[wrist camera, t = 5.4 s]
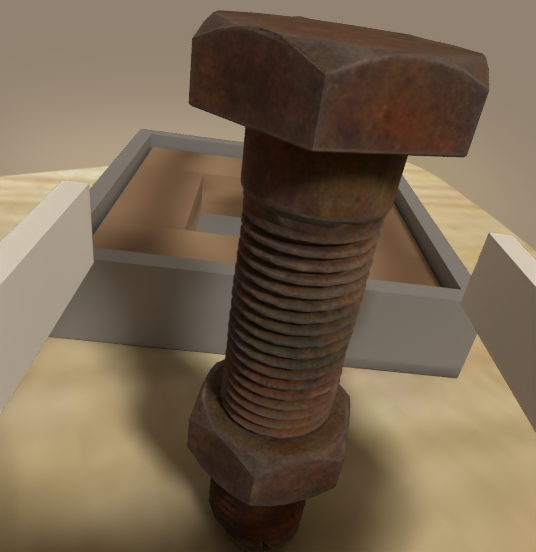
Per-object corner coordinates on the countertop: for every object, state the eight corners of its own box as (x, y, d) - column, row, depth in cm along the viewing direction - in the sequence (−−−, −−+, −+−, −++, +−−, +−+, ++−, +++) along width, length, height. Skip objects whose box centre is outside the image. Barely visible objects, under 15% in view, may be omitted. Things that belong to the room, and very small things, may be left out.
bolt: (305, 439, 20) (408, 30, 12) (361, 563, 16) (568, 70, 8) (158, 465, 18) (171, -1, 10) (181, 613, 14) (228, 31, 6)
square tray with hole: (80, 313, 24) (75, 260, 22) (152, 184, 39) (153, 146, 37) (430, 350, 25) (449, 302, 24) (369, 210, 40) (378, 176, 39)
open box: (46, 336, 23) (36, 252, 21) (140, 183, 40) (140, 128, 38) (457, 378, 24) (490, 303, 22) (379, 213, 42) (393, 161, 39)
